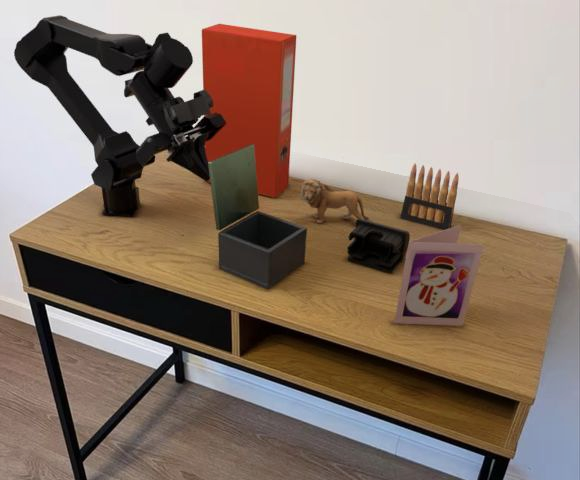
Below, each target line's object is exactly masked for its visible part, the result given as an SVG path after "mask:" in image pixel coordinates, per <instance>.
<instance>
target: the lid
mask: <svg viewBox="0 0 580 480" xmlns="http://www.w3.org/2000/svg"><path fill="white" fill-rule="evenodd" d="M208 166H209V174H210V182H211V183H210V190H211V197H212V205H213V213H214V222H215V230H216V231H222V230H224V229H226V228H227V227H229V226H231V225H233V224H235V223H236V222H238V221H240V220H242V219H244V218H245V217H247V216H249V215H251V214H253V213H254V212H256V211H258V210H259V209H260V200H259V194H258V187H257V175H256V163H255V151H254V144H249V145H247V146H245V147H242V148H240V149H238V150H235V151H233V152H231V153H228V154H226V155H224V156H222V157H219V158H217V159H215V160H212V161H210V162H208Z"/></svg>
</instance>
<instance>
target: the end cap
mask: <svg viewBox="0 0 580 480" xmlns="http://www.w3.org/2000/svg"><path fill="white" fill-rule="evenodd" d="M355 223H356V225H355V228H354V229H352V231H350V233H349V235H348V241H349V242H350V241H352V240H353V241H352V242H350V244H348V246H347V247H346V249H347V250H346V251H347V255H348V256H347V261H348V262H350V263H354V264H357V265H360V266H363V267H368V268H371V269H374V270H378V271H380V272H383V273H388V274H392V273H393V272H394V271H395V270H396V269H397V267H398V266H399V265H400V263H401V262H403V261H404V258H406V255H407V250H408V244H409V242H410V241H411V239H410V238H411V234H410V232H409V231H408V230H403V229H400V228H396V227H393V226H389V225H385V224H382V223H378V222H375V221H371V220H365V219H364V218H362V219H356V220H355Z"/></svg>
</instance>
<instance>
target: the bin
mask: <svg viewBox="0 0 580 480" xmlns="http://www.w3.org/2000/svg"><path fill="white" fill-rule="evenodd" d="M307 232H308V228H307V227H305V226H303V225H300V224H296V223H293V222H290V221H288V220H285V219H283V218H280V217H277V216H274V215H271V214H268V213H265V212H262V211H260V210H256V211H254V212H252V213H250V214H248V215H247V216H245V217H243V218H241V219H239V220H238V221H236V222H234V223H232V224H230V225H229V226H227V227H225V228H223V229H222V230H220V231H219V232H217V238H218V240H217V241H218V242H217V243H218V269H219V270H220V271H224V272H226V273H228V274H230V275H233V276H235V277H238V278H240V279H242V280H245V281H247V282H250V283H252V284H254V285H257V286H259V287H262V288H264V289H267V290H269V289H271V288H272V287H274V286H275V285H276V284H278V283H279V282H281V281H282V280H283V279H285V278H286V277H288V276H289V275H290V274H291V273H293V272H295V271H296V270H297V269H299V268H301V267H302V266H303V265H304V264H305V263H306V262H305V259H306V248H307V234H308V233H307Z"/></svg>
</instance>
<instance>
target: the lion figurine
mask: <svg viewBox="0 0 580 480" xmlns="http://www.w3.org/2000/svg"><path fill="white" fill-rule="evenodd" d="M300 196H301V199H302V201H304V202H305V203H307V204H309V207H311V208H313V209H316V210H317V212H316V213H315V214H314V216H313V217H314V218H316V219H317V220H316V223H318V224H323V223H324V220H325V214H326V211H327V209H333V210H338V209H340V208H343V207H346V208H347V210H348V212H347V214H343V216H342V218H343V219H344V220H348V219H350V217H352V216H353V217H355V218H356V220H358V219H364V220H367V221H370V218H369V217H368V216H366V215H365V211H364V210H365V209H364V203H363V201H362V199H361V197H360V195H359V194H357V193H356V192H355V191H352V190H344V191H337V190H333V189H331V188H330V187H329V185H327V184H324V183H322V182H321V181H320V180H317V179H315V178H313V179H312V178H310V179H309V178H307V179H306V180H304V182H302V183H301V190H300ZM358 205H359V208H358ZM359 209H360V212H359ZM354 224H355V226H356V222H355V223H354Z"/></svg>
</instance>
